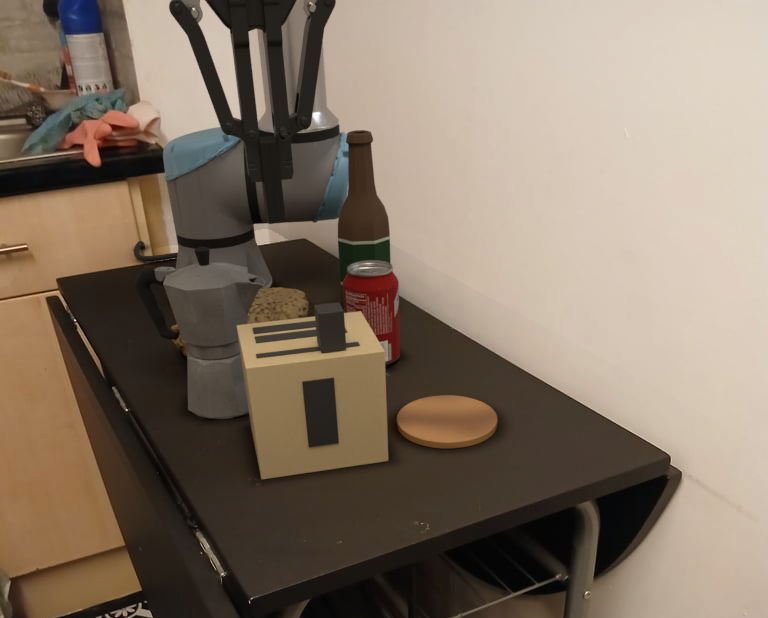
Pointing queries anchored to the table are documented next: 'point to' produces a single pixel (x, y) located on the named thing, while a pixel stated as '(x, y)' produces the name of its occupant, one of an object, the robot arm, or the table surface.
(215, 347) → the coffeepot
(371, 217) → the beer bottle
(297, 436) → the toaster
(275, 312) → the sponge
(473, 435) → the coaster
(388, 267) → the soda can
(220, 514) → the table surface
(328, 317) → the browning slider
